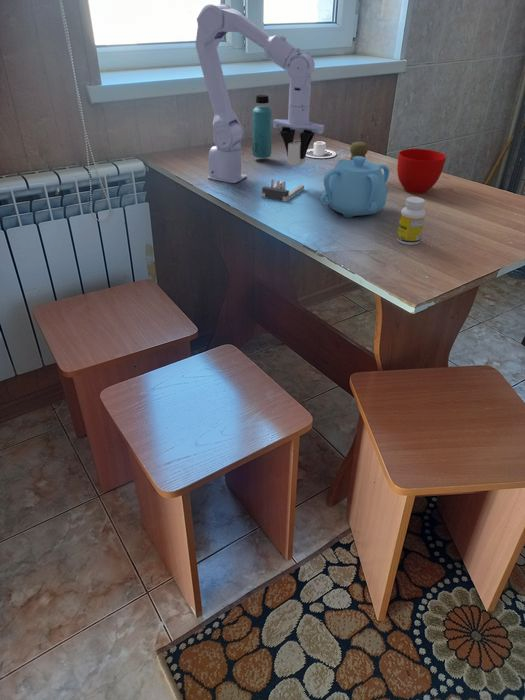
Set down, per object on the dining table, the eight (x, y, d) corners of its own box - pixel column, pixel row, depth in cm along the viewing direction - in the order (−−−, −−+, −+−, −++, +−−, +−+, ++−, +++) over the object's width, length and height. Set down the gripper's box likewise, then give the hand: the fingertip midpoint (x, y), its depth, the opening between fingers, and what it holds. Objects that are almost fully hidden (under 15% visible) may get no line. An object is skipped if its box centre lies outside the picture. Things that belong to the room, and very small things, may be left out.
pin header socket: (261, 196, 143) (261, 180, 140) (279, 185, 151) (280, 169, 149) (286, 201, 140) (287, 185, 137) (304, 189, 149) (305, 173, 146)
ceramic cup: (452, 187, 152) (460, 152, 147) (424, 200, 142) (432, 163, 137) (413, 177, 160) (419, 144, 154) (384, 189, 149) (390, 154, 144)
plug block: (287, 163, 146) (288, 142, 143) (293, 160, 149) (294, 139, 146) (298, 165, 145) (299, 144, 141) (304, 161, 148) (306, 141, 145)
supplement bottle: (393, 236, 121) (400, 195, 116) (415, 236, 122) (423, 195, 116) (400, 245, 117) (407, 203, 111) (423, 245, 117) (432, 203, 112)
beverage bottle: (274, 159, 174) (276, 94, 162) (264, 164, 169) (265, 97, 158) (258, 156, 177) (259, 92, 165) (248, 160, 172) (248, 95, 161)
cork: (364, 184, 154) (369, 145, 147) (344, 182, 155) (348, 144, 148) (365, 178, 158) (370, 140, 152) (346, 176, 159) (350, 139, 153)
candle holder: (303, 150, 186) (303, 137, 183) (336, 151, 185) (337, 139, 182) (300, 159, 176) (301, 146, 174) (335, 160, 175) (337, 147, 172)
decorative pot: (311, 213, 133) (315, 159, 125) (336, 195, 144) (341, 145, 136) (371, 226, 126) (379, 170, 119) (392, 206, 138) (400, 154, 130)
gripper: (329, 105, 138) (325, 157, 146) (281, 100, 144) (279, 150, 151) (319, 109, 133) (315, 163, 141) (270, 104, 138) (268, 156, 146)
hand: (296, 157), depth 146 cm, fingers closed on plug block, 3 cm apart
